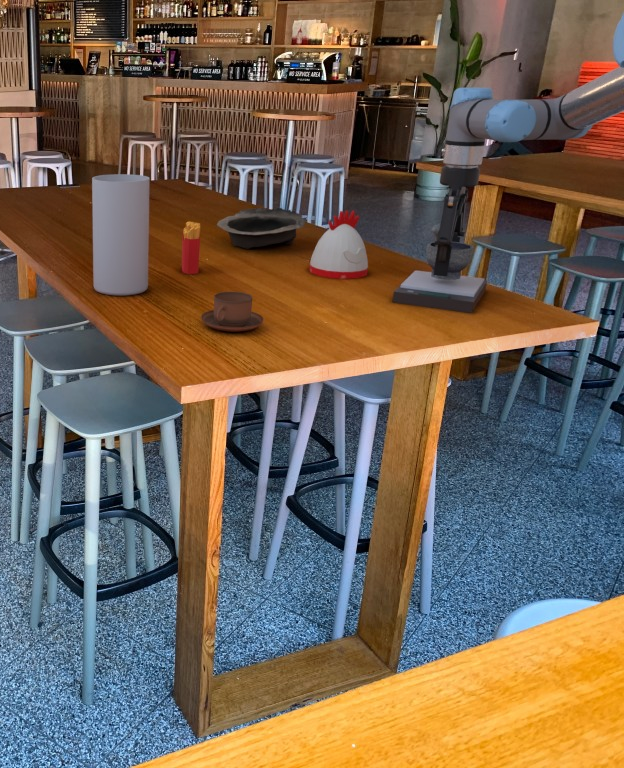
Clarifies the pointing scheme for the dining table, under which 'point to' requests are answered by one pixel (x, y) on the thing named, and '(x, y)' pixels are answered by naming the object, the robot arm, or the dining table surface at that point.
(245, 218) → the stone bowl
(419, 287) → the kitchen scale
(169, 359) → the dining table surface
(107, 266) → the cylinder vase
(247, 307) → the cup and saucer
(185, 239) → the french fries
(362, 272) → the kitchen timer
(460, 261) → the mortar and pestle
